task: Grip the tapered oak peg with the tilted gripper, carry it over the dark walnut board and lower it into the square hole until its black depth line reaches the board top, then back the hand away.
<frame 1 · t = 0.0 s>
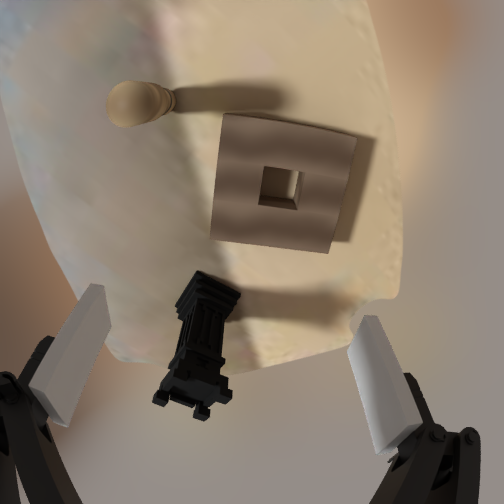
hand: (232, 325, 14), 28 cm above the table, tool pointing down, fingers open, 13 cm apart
oak peg: (165, 101, 33), on the table
chess piece: (207, 298, 49), on the table
walnut board: (278, 180, 39), on the table
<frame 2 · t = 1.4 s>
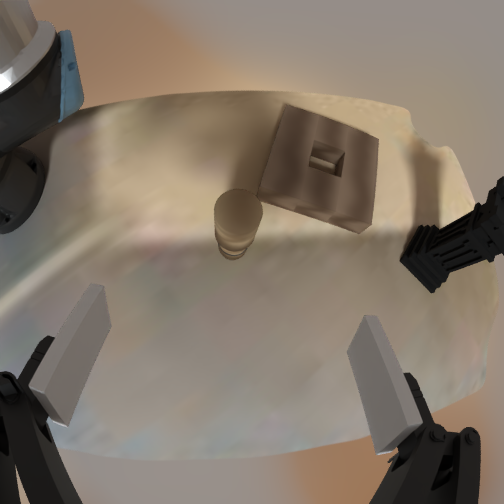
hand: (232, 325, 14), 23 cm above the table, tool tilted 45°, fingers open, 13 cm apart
oak peg: (232, 249, 39), on the table
chess piece: (425, 259, 43), on the table
walnut board: (319, 171, 44), on the table
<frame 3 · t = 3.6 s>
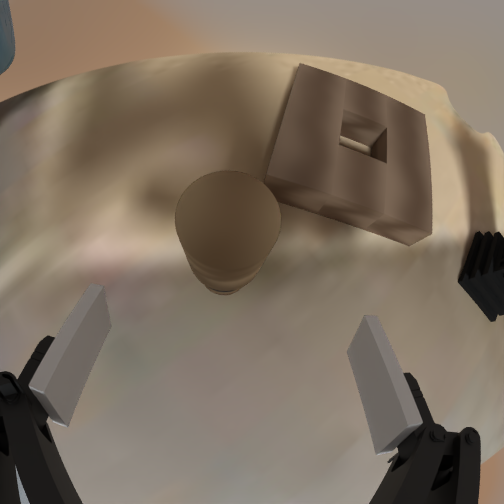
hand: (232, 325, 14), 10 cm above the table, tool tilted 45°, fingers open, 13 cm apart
oak peg: (223, 276, 25), on the table
chess piece: (483, 277, 28), on the table
walnut board: (350, 156, 29), on the table
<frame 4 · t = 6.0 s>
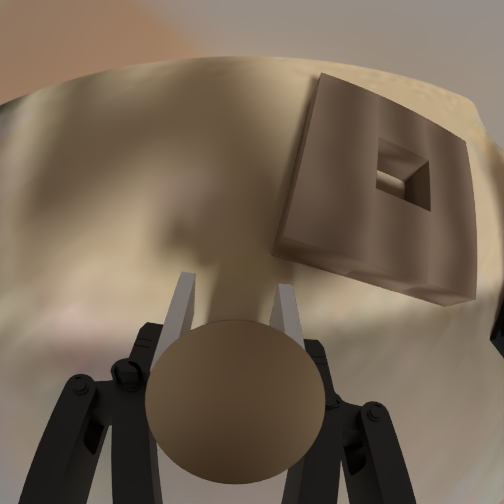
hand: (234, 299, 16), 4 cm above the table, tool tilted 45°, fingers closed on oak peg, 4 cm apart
oak peg: (225, 361, 19), on the table, touching gripper
walnut board: (381, 195, 24), on the table
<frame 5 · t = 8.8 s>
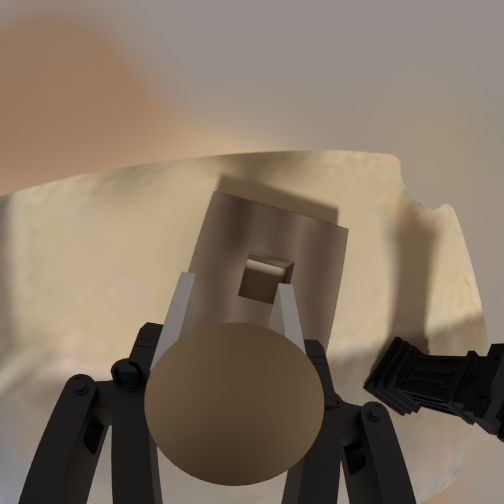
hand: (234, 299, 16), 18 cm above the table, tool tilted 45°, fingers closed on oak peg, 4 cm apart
oak peg: (225, 362, 19), point 14 cm above the table, touching gripper
chess piece: (398, 377, 34), on the table
walnut board: (261, 284, 35), on the table
when the fingers open (6 cm above the table, at t = 11.9 s): oak peg drops 1 cm, resting in walnut board.
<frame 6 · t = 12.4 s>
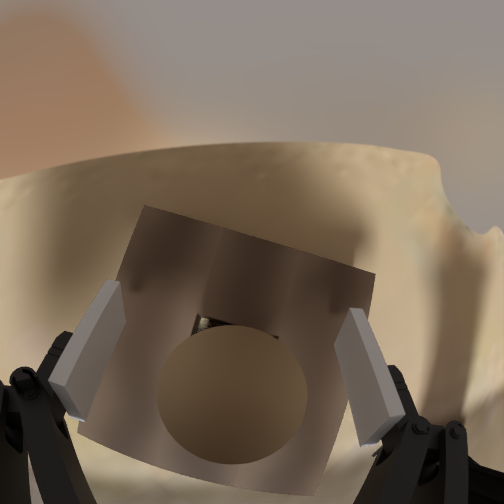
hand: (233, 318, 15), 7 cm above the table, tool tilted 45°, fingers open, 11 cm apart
oak peg: (225, 361, 20), resting in walnut board
chess piece: (420, 472, 19), on the table
walnut board: (225, 359, 20), on the table
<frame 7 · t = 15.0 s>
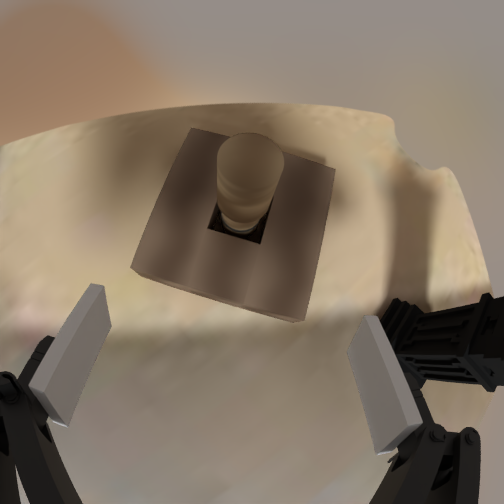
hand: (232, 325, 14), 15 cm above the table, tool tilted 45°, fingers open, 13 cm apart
oak peg: (238, 227, 31), resting in walnut board
chess piece: (397, 347, 30), on the table
walnut board: (238, 227, 31), on the table
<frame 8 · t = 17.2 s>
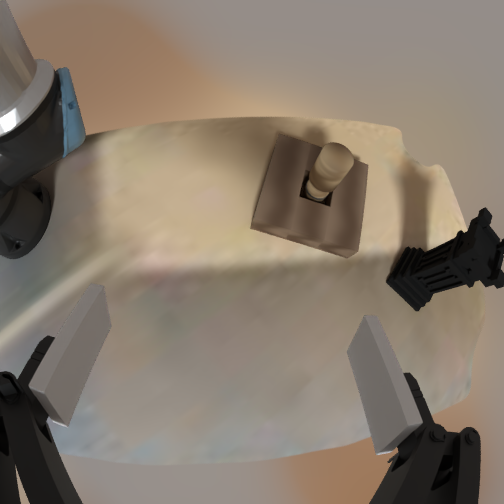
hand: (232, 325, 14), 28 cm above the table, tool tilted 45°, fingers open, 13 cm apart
oak peg: (310, 199, 48), resting in walnut board
chess piece: (411, 279, 46), on the table
walnut board: (310, 199, 48), on the table
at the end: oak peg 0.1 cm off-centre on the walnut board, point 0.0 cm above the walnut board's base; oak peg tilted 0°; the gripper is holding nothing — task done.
